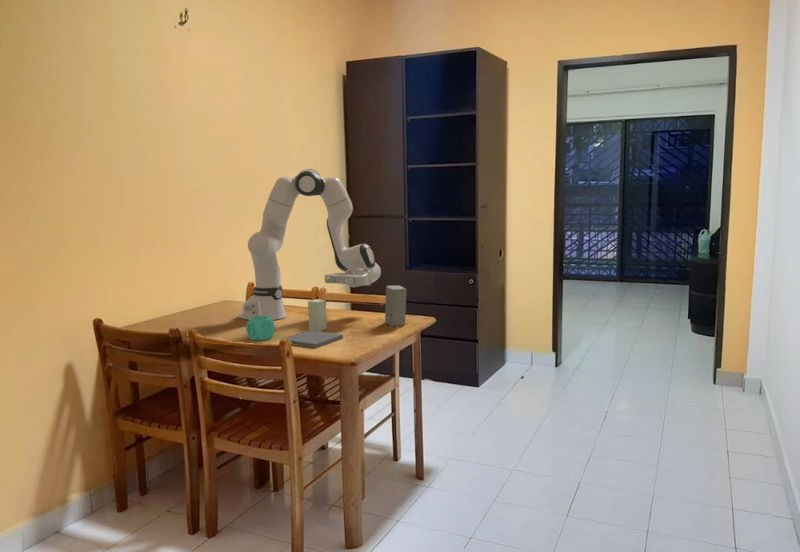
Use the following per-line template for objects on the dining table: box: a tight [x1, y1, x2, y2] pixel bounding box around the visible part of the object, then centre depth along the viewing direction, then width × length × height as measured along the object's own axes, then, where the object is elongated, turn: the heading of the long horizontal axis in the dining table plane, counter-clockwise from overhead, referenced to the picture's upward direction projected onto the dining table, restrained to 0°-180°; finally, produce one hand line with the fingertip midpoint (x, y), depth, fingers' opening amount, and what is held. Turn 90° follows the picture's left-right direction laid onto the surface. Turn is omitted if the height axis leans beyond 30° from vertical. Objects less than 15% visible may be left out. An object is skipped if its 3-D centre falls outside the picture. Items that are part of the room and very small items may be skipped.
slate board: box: [287, 330, 344, 349], centre depth 231 cm, size 16×16×2 cm
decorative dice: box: [245, 316, 276, 342], centre depth 236 cm, size 8×8×8 cm
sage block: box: [307, 298, 328, 332], centre depth 248 cm, size 5×5×12 cm
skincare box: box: [384, 285, 407, 327], centre depth 255 cm, size 8×7×16 cm
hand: (335, 281), depth 256 cm, fingers open, 8 cm apart
